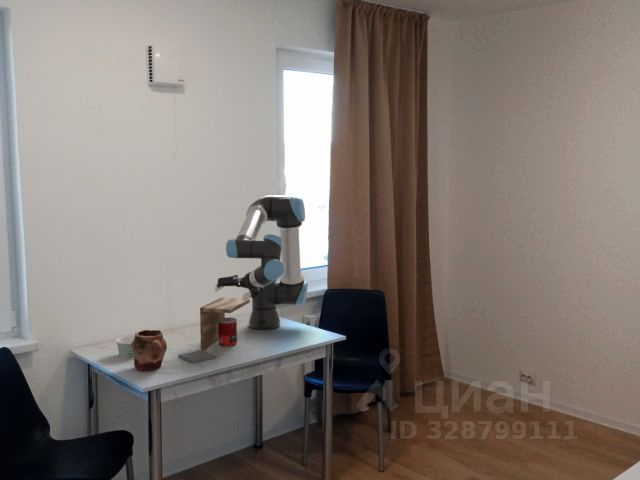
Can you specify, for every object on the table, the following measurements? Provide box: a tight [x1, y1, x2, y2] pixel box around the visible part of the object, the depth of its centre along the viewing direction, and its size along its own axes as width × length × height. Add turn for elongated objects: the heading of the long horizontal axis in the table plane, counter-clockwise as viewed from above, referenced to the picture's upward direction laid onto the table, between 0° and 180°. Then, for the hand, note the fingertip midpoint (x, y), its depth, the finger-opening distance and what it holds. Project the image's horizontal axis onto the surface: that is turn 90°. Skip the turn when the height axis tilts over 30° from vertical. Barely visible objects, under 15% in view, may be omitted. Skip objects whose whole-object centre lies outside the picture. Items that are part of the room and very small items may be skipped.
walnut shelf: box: [199, 297, 251, 351], centre depth 275 cm, size 14×22×18 cm, turn 165°
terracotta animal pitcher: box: [131, 329, 168, 372], centre depth 241 cm, size 20×12×14 cm, turn 45°
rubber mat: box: [177, 349, 218, 364], centre depth 257 cm, size 11×11×1 cm
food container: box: [115, 335, 135, 359], centre depth 260 cm, size 12×12×6 cm
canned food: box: [218, 317, 238, 348], centre depth 275 cm, size 8×8×11 cm
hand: (229, 293), depth 274 cm, fingers open, 13 cm apart
